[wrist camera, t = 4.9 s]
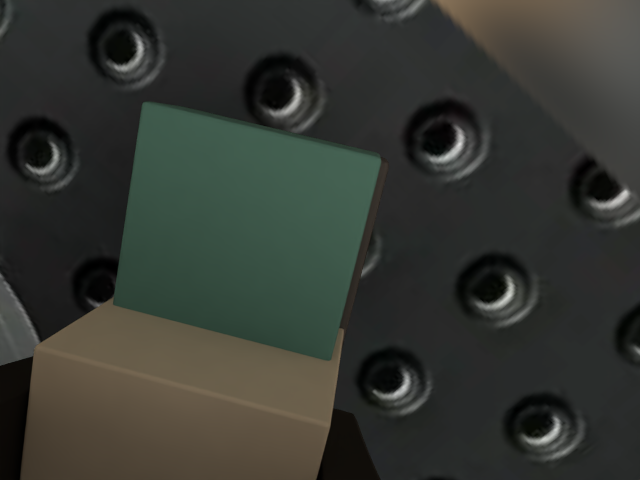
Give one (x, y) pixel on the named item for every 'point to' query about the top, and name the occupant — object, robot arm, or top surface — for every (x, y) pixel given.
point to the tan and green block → (212, 311)
